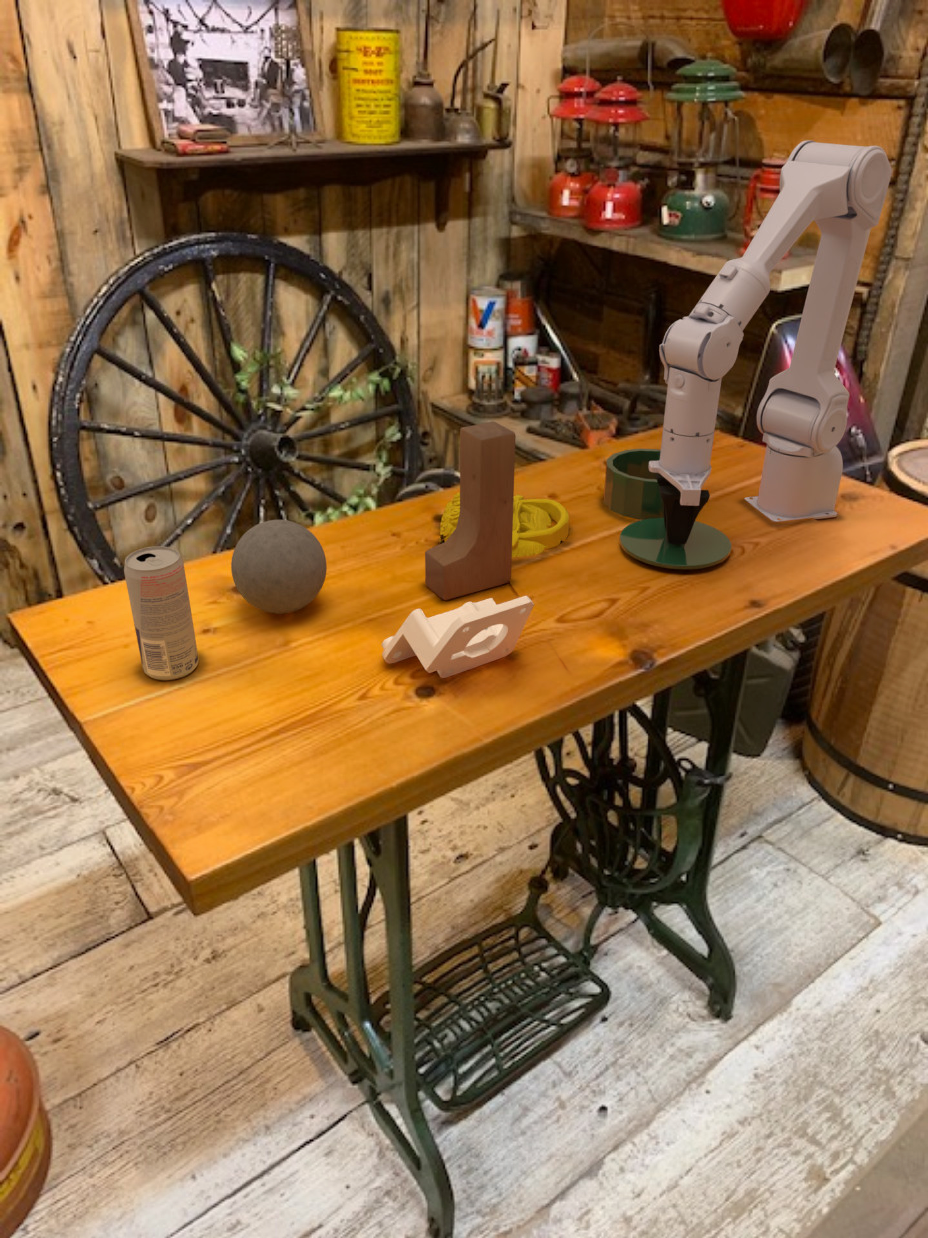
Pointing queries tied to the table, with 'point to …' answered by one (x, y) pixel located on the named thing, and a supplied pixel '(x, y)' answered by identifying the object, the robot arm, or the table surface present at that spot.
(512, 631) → the mounting bracket
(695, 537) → the lid
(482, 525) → the wooden block
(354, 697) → the table surface
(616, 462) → the pot
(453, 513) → the door knocker
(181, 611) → the energy drink
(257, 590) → the decorative ball
